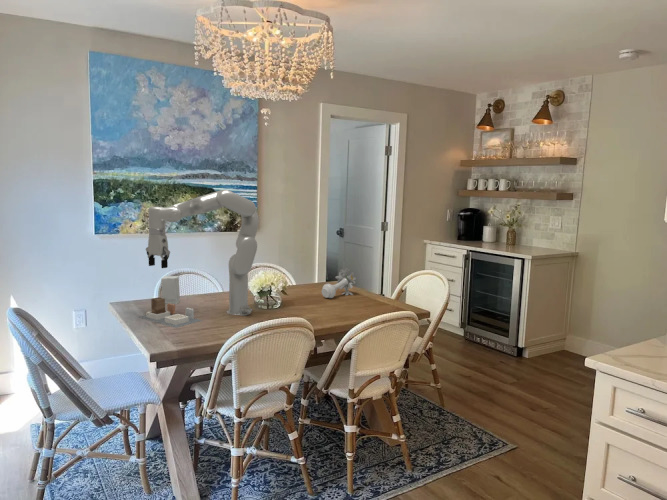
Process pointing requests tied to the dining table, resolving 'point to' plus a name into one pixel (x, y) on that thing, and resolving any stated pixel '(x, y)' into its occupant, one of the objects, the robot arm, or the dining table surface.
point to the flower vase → (339, 284)
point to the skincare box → (170, 289)
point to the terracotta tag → (171, 308)
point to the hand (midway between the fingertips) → (158, 266)
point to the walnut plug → (158, 305)
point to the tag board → (169, 319)
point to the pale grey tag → (190, 313)
